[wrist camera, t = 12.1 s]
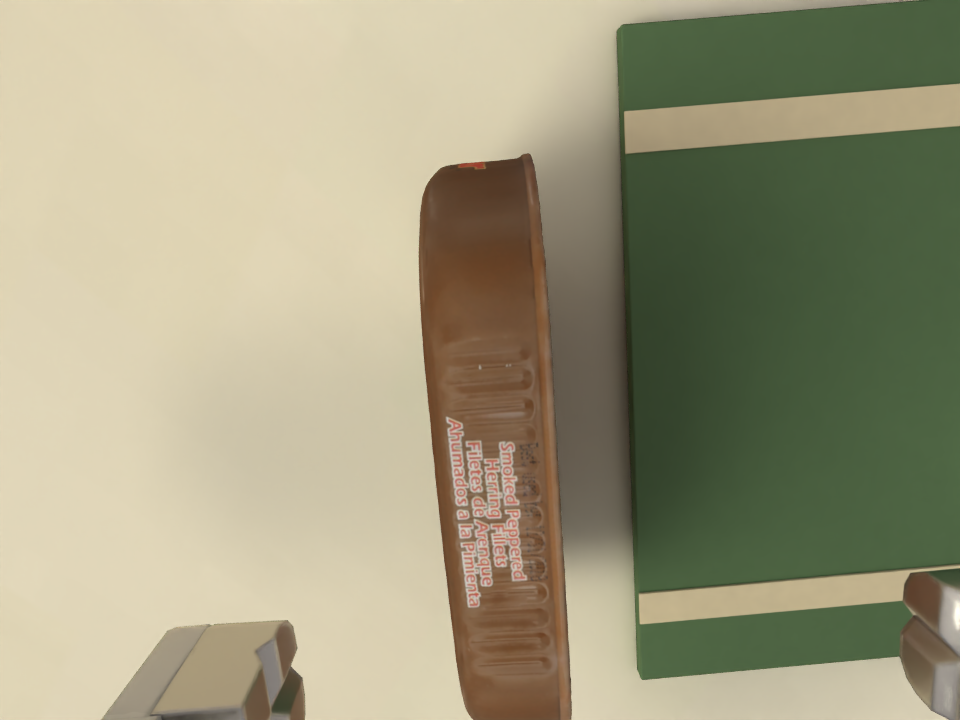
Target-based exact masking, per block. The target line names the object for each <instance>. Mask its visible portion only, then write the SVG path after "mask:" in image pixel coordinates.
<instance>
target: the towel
mask: <svg viewBox="0 0 960 720" xmlns="http://www.w3.org/2000/svg"><path fill="white" fill-rule="evenodd" d="M617 55H618V86H619V117H620V148H621V179H622V210H623V241H624V272H625V303H626V334H627V365H628V396H629V427H630V458H631V488H632V519H633V550H634V581H635V612H636V643H637V670H638V672H639V675H640V677H641V679H642V680H647V679H658V678H669V677H680V676H691V675H701V674H712V673H723V672H734V671H745V670H756V669H767V668H778V667H789V666H800V665H811V664H822V663H833V662H844V661H855V660H866V659H877V658H887V657H898V656H900V655H899V649H900V631H901V630H902V629H903V627H904V626H905V625H906V624H907V622H908V621H909V620H910V619H911V617H912V616H913V615H912V613H911V612H910V611H909V609H908V608H907V607H906V605H905V604H904V603H903V591H904V583H905V582H906V580H907V578H908V576H909V574H910V573H913V572H924V571H934V570H945V569H955V568H960V0H919V1H906V2H894V3H882V4H870V5H857V6H845V7H833V8H820V9H808V10H796V11H784V12H771V13H759V14H747V15H735V16H722V17H710V18H698V19H685V20H673V21H661V22H649V23H636V24H624V25H621V26H620V28H619V29H618V30H617Z"/></svg>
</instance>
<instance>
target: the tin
mask: <svg viewBox="0 0 960 720" xmlns="http://www.w3.org/2000/svg"><path fill="white" fill-rule="evenodd" d="M419 283H420V304H421V322H422V336H423V350H424V362H425V374H426V383H427V393H428V405H429V413H430V422H431V434H432V446H433V455H434V463H435V476H436V486H437V495H438V504H439V514H440V524H441V533H442V542H443V552H444V561H445V569H446V576H447V585H448V596H449V604H450V611H451V620H452V628H453V636H454V644H455V653H456V662H457V668H458V674H459V681H460V686H461V692H462V696H463V700H464V704H465V707H466V710H467V712H468V713H469V715H470V716H471V718H472V719H473V720H571V715H572V702H571V678H570V657H569V642H568V622H567V605H566V586H565V569H564V556H563V537H562V526H561V503H560V488H559V473H558V456H557V435H556V420H555V405H554V383H553V363H552V346H551V326H550V314H549V302H548V290H547V280H546V260H545V251H544V246H543V236H542V223H541V214H540V202H539V195H538V186H537V181H536V174H535V167H534V163H533V160H532V157H531V155H530V154H528V153H527V154H523V155H522V156H521V157H519V158H517V159H509V160H500V161H489V162H476V163H463V164H456V165H450V166H445V167H442V168H441V169H439V170H438V171H437V172H436V173H435V175H434V176H433V177H432V178H431V179H430V181H429V182H428V184H427V186H426V188H425V191H424V194H423V198H422V205H421V212H420V235H419Z"/></svg>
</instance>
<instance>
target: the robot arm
mask: <svg viewBox="0 0 960 720" xmlns="http://www.w3.org/2000/svg"><path fill="white" fill-rule="evenodd" d="M903 603H904V604H905V605H906V607H907V608H908V609H909V611H910V612H911V613H912V615H913V616H912V617H911V619H910V620H909V621H908V622H907V624H906V625H905V626H904V627H903V629H902V630H901V631H900V649H899V655H900V658H901V662H902V665H903V668H904V671H905V675H906V678H907V679H908V681H909V683H910V684H911V686H912V688H913V689H914V691H915V693H916V694H917V695H918V696H919V698H920V699H921V700H922V701H923V702H924V703H925V704H926V705H927V706H928V708H929V709H930V710H931V711H933V712H935V713H937V714H939V715H941V716H943V717H945V718H947V719H949V720H960V568H955V569H945V570H934V571H924V572H913V573H910V574H909V576H908V578H907V580H906V582H905V583H904V591H903ZM296 651H297V644H296V639H295V634H294V629H293V626H292V625H291V624H290V623H289V621H288V620H280V621H263V622H245V623H227V624H214V625H209V624H207V625H195V626H184V627H176V628H174V629H171V630H169V631H167V632H166V634H165V635H164V636H163V638H162V639H161V640H160V642H159V643H158V644H157V646H156V647H155V648H154V650H153V651H152V652H151V654H150V655H149V656H148V658H147V659H146V660H145V662H144V663H143V664H142V666H141V667H140V668H139V670H138V671H137V672H136V674H135V675H134V676H133V678H132V679H131V680H130V682H129V683H128V684H127V686H126V687H125V688H124V690H123V691H122V693H121V694H120V695H119V697H118V698H117V699H116V701H115V702H114V703H113V705H112V706H111V707H110V709H109V710H108V711H107V713H106V714H105V715H104V717H103V718H102V719H101V720H305V693H304V686H303V679H302V677H301V676H300V675H299V674H298V673H297V672H296V671H295V670H294V669H293V668H292V667H291V663H292V661H293V658H294V656H295V653H296Z"/></svg>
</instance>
